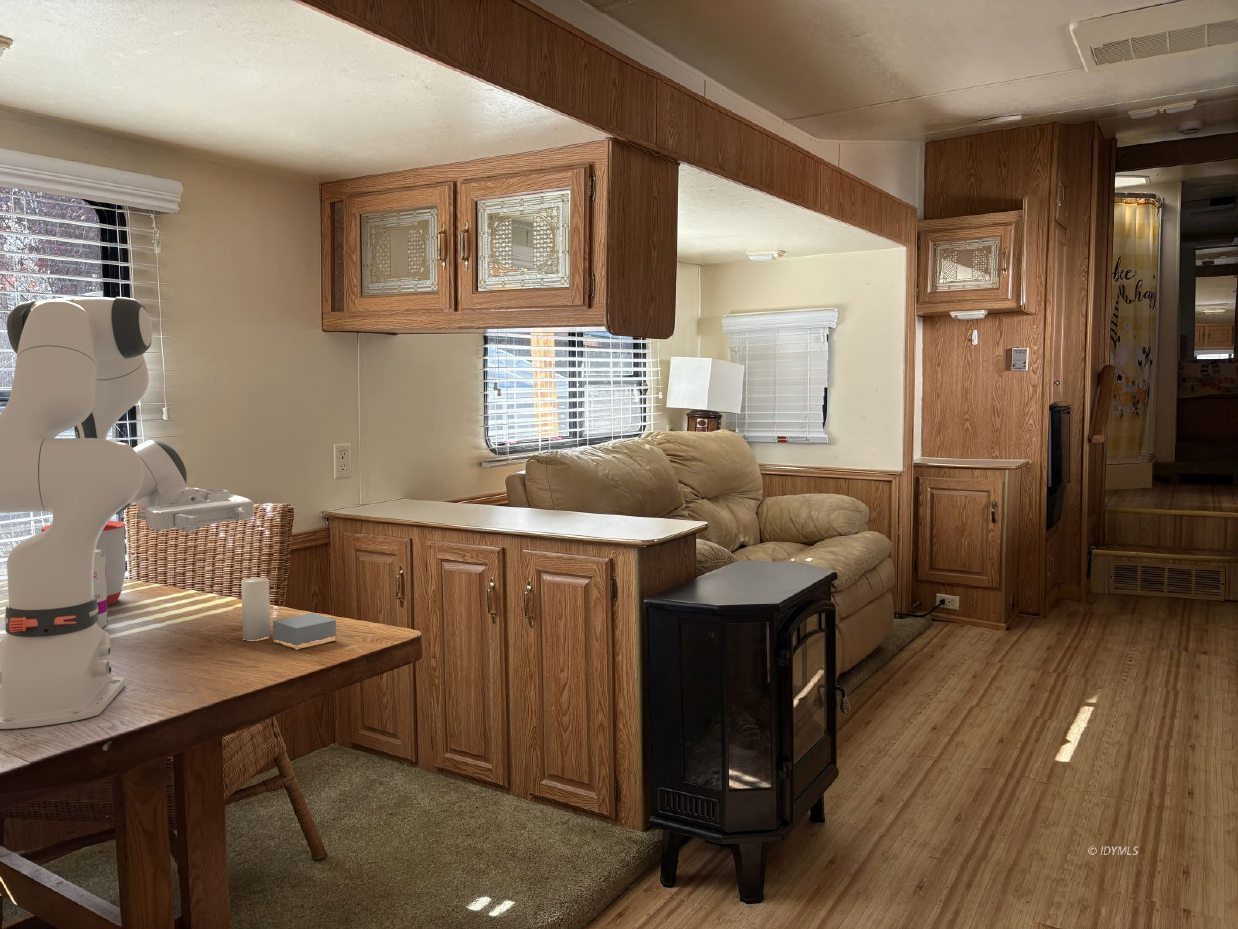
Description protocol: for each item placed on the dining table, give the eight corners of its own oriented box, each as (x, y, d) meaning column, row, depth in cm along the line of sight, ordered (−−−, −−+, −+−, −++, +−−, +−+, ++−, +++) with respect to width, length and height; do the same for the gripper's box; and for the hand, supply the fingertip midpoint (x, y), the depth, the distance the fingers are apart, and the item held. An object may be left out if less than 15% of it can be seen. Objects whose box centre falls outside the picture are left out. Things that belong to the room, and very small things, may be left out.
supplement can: (91, 621, 187) (89, 546, 185) (116, 626, 182) (113, 550, 181) (49, 630, 180) (46, 552, 178) (74, 636, 175) (71, 557, 174)
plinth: (336, 641, 174) (335, 620, 173) (296, 650, 168) (296, 628, 167) (312, 633, 179) (311, 613, 179) (273, 642, 173) (273, 620, 172)
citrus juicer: (21, 607, 197) (17, 513, 196) (105, 592, 212) (101, 505, 210) (58, 618, 189) (54, 519, 187) (143, 602, 203) (140, 510, 201)
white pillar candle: (271, 640, 174) (269, 581, 173) (243, 642, 172) (242, 583, 171) (269, 633, 179) (267, 576, 178) (241, 636, 177) (240, 578, 176)
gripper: (132, 498, 182) (164, 509, 173) (233, 488, 198) (267, 497, 189) (133, 530, 183) (165, 542, 174) (234, 518, 199) (267, 528, 190)
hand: (219, 519), depth 182 cm, fingers open, 8 cm apart
